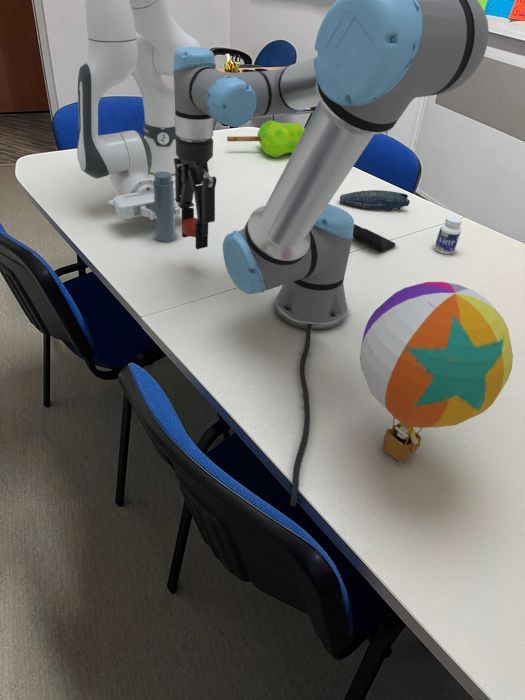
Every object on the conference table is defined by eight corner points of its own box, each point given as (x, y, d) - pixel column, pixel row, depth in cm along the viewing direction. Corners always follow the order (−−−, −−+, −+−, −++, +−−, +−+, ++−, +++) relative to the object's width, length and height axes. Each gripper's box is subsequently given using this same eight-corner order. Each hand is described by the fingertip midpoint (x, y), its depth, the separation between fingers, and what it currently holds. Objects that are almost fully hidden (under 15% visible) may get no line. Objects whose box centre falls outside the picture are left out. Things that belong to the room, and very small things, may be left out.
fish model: (408, 214, 157) (412, 198, 153) (339, 207, 158) (341, 191, 154) (406, 206, 162) (410, 190, 159) (339, 199, 163) (341, 183, 160)
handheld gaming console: (399, 237, 140) (392, 215, 132) (388, 260, 139) (379, 239, 130) (362, 229, 146) (352, 207, 138) (350, 250, 145) (340, 230, 137)
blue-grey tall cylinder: (167, 231, 137) (164, 169, 126) (179, 238, 134) (177, 175, 124) (152, 236, 134) (148, 173, 124) (164, 244, 131) (161, 179, 121)
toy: (311, 442, 83) (343, 281, 64) (387, 392, 94) (434, 241, 75) (410, 529, 72) (484, 365, 53) (484, 461, 83) (567, 304, 64)
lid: (198, 239, 114) (198, 231, 113) (177, 232, 116) (177, 224, 114) (211, 230, 118) (211, 221, 117) (190, 223, 120) (190, 215, 118)
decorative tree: (224, 117, 189) (303, 117, 195) (224, 146, 196) (301, 145, 201) (231, 131, 176) (316, 130, 181) (230, 162, 182) (313, 160, 188)
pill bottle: (433, 251, 139) (442, 220, 133) (435, 243, 143) (444, 213, 137) (453, 256, 138) (464, 225, 132) (454, 247, 142) (465, 217, 136)
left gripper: (104, 188, 131) (125, 209, 122) (177, 176, 141) (202, 195, 132) (107, 211, 135) (127, 233, 126) (178, 199, 145) (202, 218, 136)
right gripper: (235, 149, 100) (230, 255, 115) (188, 121, 111) (188, 221, 126) (201, 154, 96) (201, 263, 111) (156, 125, 107) (160, 228, 122)
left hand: (166, 214), depth 129 cm, fingers closed on blue-grey tall cylinder, 5 cm apart
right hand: (194, 241), depth 118 cm, fingers closed on lid, 5 cm apart
